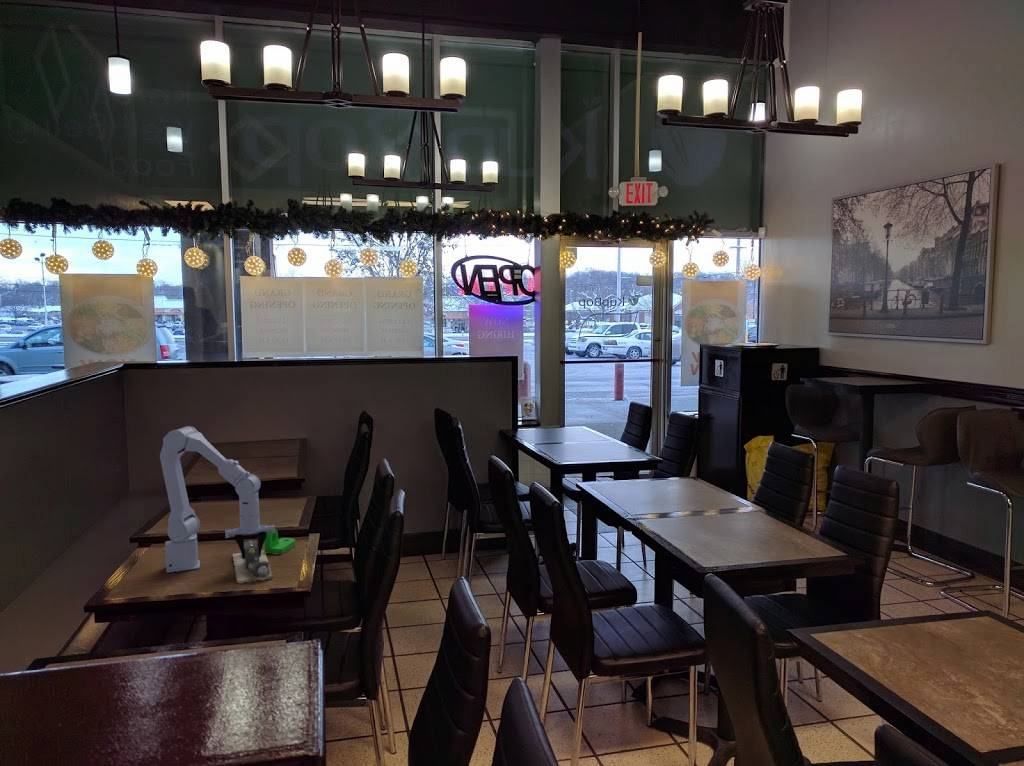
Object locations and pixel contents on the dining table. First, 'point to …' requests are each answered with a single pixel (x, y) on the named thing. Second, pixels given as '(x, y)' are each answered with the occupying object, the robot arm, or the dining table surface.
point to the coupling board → (246, 574)
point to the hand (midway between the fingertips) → (251, 557)
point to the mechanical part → (277, 543)
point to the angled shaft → (259, 568)
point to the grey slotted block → (251, 552)
